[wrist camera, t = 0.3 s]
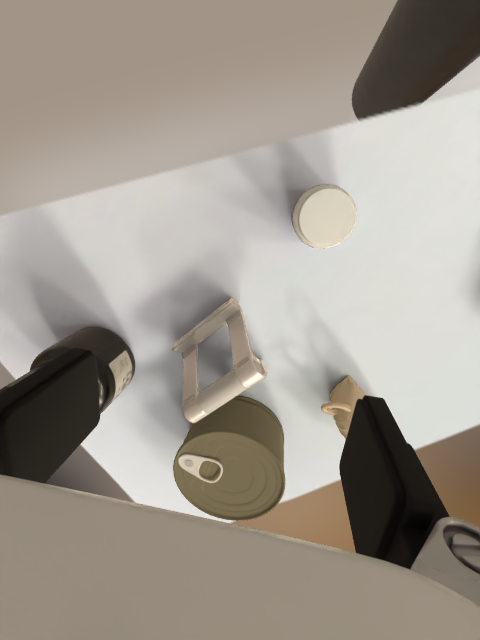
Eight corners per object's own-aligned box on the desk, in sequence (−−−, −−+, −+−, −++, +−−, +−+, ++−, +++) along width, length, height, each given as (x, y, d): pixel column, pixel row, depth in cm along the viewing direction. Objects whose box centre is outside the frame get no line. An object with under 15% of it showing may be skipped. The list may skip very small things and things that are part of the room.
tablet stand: (231, 296, 33) (214, 321, 25) (277, 350, 34) (274, 390, 26) (176, 340, 36) (145, 375, 28) (220, 388, 37) (202, 436, 29)
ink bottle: (110, 404, 40) (42, 478, 29) (56, 361, 39) (-37, 420, 28) (152, 357, 37) (93, 419, 26) (93, 308, 36) (6, 351, 25)
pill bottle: (281, 214, 30) (279, 214, 22) (321, 178, 28) (334, 164, 20) (311, 252, 30) (320, 266, 23) (352, 219, 29) (377, 221, 21)
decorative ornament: (353, 434, 36) (363, 469, 31) (311, 383, 35) (315, 411, 30) (384, 418, 35) (400, 452, 30) (342, 364, 34) (352, 391, 29)
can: (265, 485, 41) (261, 535, 34) (181, 452, 41) (161, 496, 35) (300, 415, 37) (303, 458, 30) (206, 379, 37) (189, 414, 30)
